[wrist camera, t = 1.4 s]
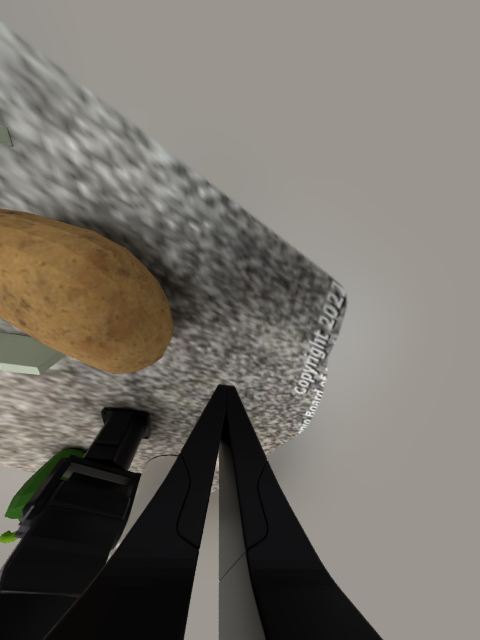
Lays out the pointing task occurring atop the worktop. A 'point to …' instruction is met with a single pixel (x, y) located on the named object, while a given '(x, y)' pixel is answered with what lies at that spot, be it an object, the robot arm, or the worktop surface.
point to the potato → (81, 294)
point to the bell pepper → (33, 489)
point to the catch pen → (20, 349)
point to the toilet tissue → (147, 489)
